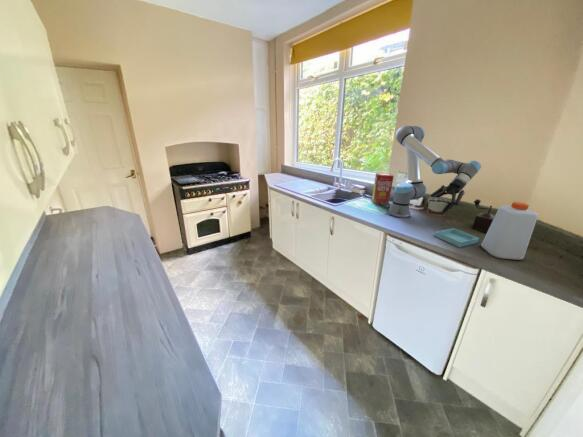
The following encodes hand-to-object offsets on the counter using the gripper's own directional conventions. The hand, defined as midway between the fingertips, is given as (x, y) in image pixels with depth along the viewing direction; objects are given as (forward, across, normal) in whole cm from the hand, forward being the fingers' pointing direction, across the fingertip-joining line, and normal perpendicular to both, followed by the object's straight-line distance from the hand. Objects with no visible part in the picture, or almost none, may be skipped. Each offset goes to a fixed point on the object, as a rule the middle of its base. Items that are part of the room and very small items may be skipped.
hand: (435, 209), depth 145 cm
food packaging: (+1, +60, -21) cm, 64 cm away
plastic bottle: (+3, -34, -19) cm, 39 cm away
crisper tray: (+7, -14, -14) cm, 21 cm away
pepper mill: (-16, -7, -38) cm, 42 cm away
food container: (+1, +1, -4) cm, 5 cm away
